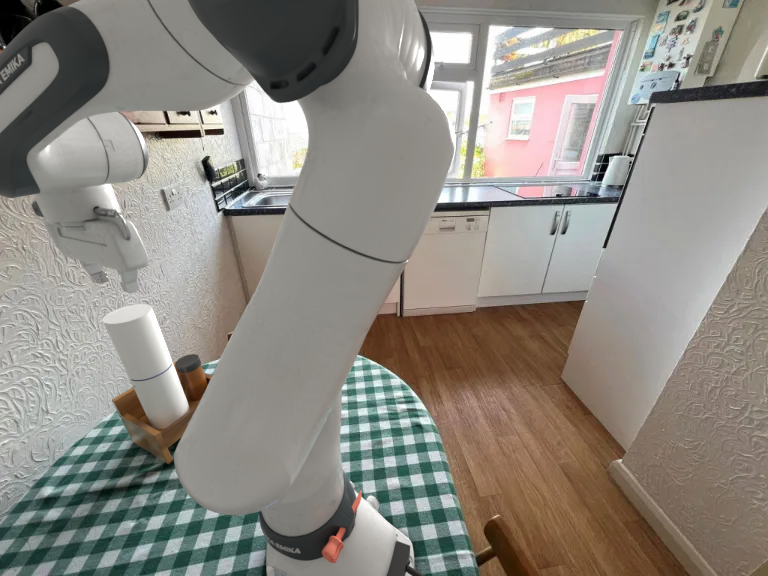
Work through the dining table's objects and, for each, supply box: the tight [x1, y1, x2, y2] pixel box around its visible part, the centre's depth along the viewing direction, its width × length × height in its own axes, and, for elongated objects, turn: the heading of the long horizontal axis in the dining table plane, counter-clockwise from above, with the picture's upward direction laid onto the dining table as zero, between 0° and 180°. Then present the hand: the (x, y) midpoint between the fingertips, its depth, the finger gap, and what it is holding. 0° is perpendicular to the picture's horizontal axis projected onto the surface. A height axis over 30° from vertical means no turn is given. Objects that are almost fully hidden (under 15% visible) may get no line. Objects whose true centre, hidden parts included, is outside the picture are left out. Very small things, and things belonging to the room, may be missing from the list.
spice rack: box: [111, 353, 212, 465], centre depth 67 cm, size 12×16×15 cm
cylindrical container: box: [102, 303, 190, 429], centre depth 61 cm, size 7×7×25 cm
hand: (116, 286), depth 54 cm, fingers open, 8 cm apart
